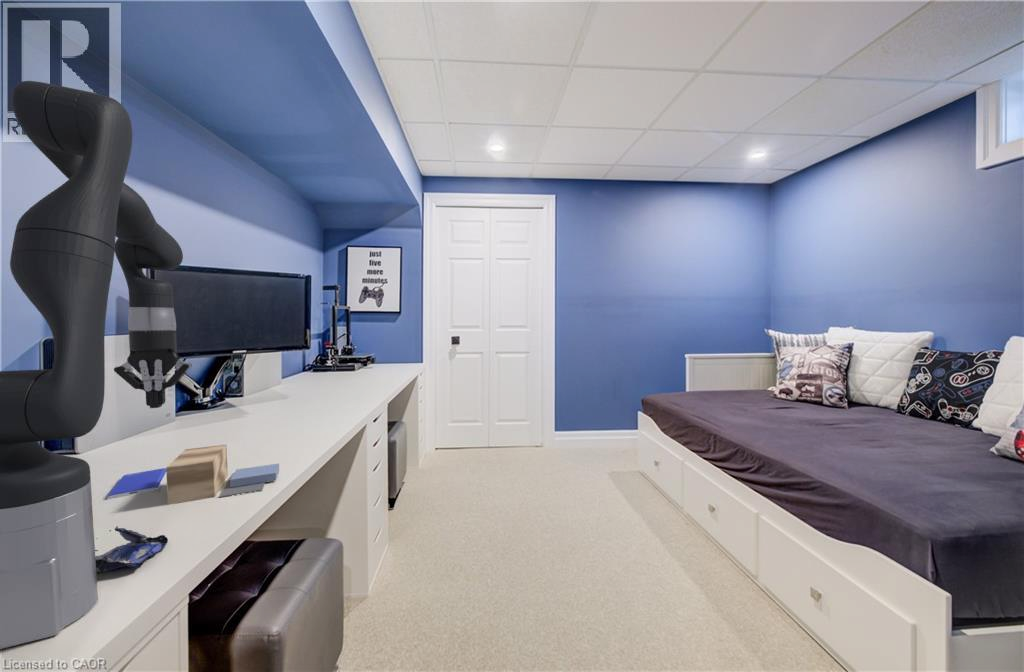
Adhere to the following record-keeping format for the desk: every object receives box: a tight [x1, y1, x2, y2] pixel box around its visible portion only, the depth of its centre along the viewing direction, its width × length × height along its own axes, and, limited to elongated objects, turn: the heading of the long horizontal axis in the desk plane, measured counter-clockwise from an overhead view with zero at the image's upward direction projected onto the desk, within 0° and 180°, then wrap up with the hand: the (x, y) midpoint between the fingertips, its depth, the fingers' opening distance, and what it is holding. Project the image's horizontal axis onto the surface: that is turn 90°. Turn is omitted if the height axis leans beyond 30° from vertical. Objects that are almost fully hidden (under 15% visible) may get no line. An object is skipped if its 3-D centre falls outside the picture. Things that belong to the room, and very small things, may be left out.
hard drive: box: [106, 467, 167, 500], centre depth 90 cm, size 2×8×12 cm
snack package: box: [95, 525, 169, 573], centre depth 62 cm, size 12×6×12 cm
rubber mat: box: [218, 471, 266, 499], centre depth 92 cm, size 14×8×1 cm, turn 26°
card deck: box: [229, 463, 280, 487], centre depth 93 cm, size 6×9×2 cm
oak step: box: [165, 444, 229, 505], centre depth 88 cm, size 12×8×8 cm, turn 26°
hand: (156, 407), depth 84 cm, fingers closed
